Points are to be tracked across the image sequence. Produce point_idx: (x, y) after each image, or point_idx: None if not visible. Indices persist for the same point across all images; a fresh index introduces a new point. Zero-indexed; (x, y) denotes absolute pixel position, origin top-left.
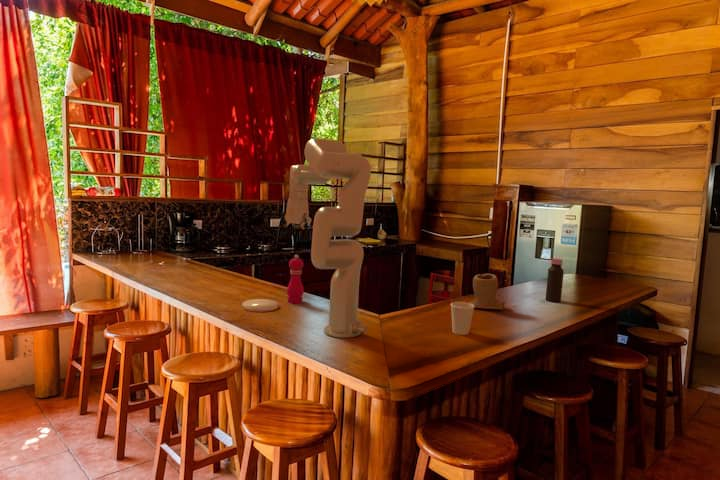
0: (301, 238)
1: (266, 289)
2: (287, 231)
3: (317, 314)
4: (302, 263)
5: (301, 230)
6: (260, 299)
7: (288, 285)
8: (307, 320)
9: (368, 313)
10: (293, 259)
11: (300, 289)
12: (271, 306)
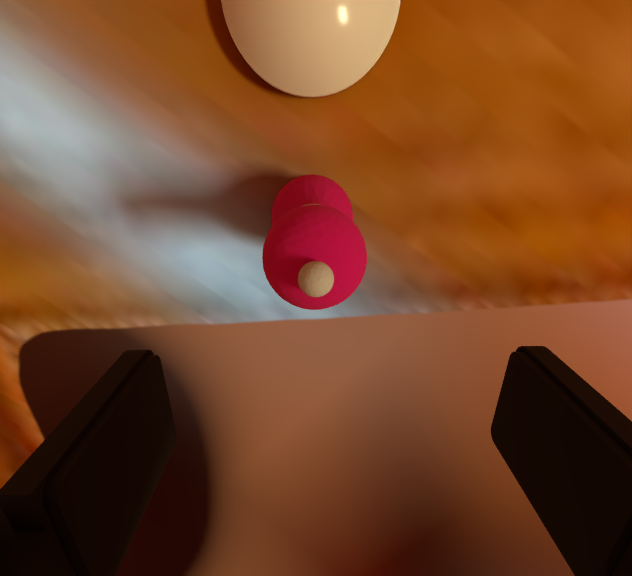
0: (127, 351)
1: (554, 230)
2: (572, 395)
3: (89, 160)
4: (270, 283)
5: (28, 463)
6: (377, 45)
7: (326, 189)
8: (11, 58)
9: (41, 325)
10: (309, 239)
11: (272, 222)
12: (227, 5)
